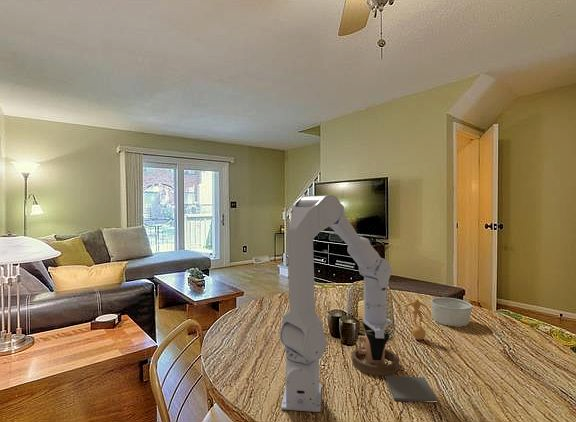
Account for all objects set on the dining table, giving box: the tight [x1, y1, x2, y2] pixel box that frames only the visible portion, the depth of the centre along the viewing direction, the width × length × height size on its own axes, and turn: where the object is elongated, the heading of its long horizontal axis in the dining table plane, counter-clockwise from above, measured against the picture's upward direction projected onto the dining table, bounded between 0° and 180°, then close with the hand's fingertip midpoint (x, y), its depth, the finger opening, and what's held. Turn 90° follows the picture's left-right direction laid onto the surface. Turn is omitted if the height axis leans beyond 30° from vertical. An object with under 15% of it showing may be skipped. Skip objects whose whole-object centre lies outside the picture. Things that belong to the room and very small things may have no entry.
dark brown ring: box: [351, 346, 400, 377], centre depth 82 cm, size 12×12×2 cm
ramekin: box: [430, 296, 473, 328], centre depth 112 cm, size 13×13×7 cm
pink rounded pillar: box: [357, 330, 386, 366], centre depth 82 cm, size 7×5×8 cm
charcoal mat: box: [385, 374, 439, 403], centre depth 70 cm, size 9×9×1 cm
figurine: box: [403, 298, 432, 341], centre depth 98 cm, size 8×6×12 cm
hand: (374, 354), depth 82 cm, fingers closed on pink rounded pillar, 5 cm apart
